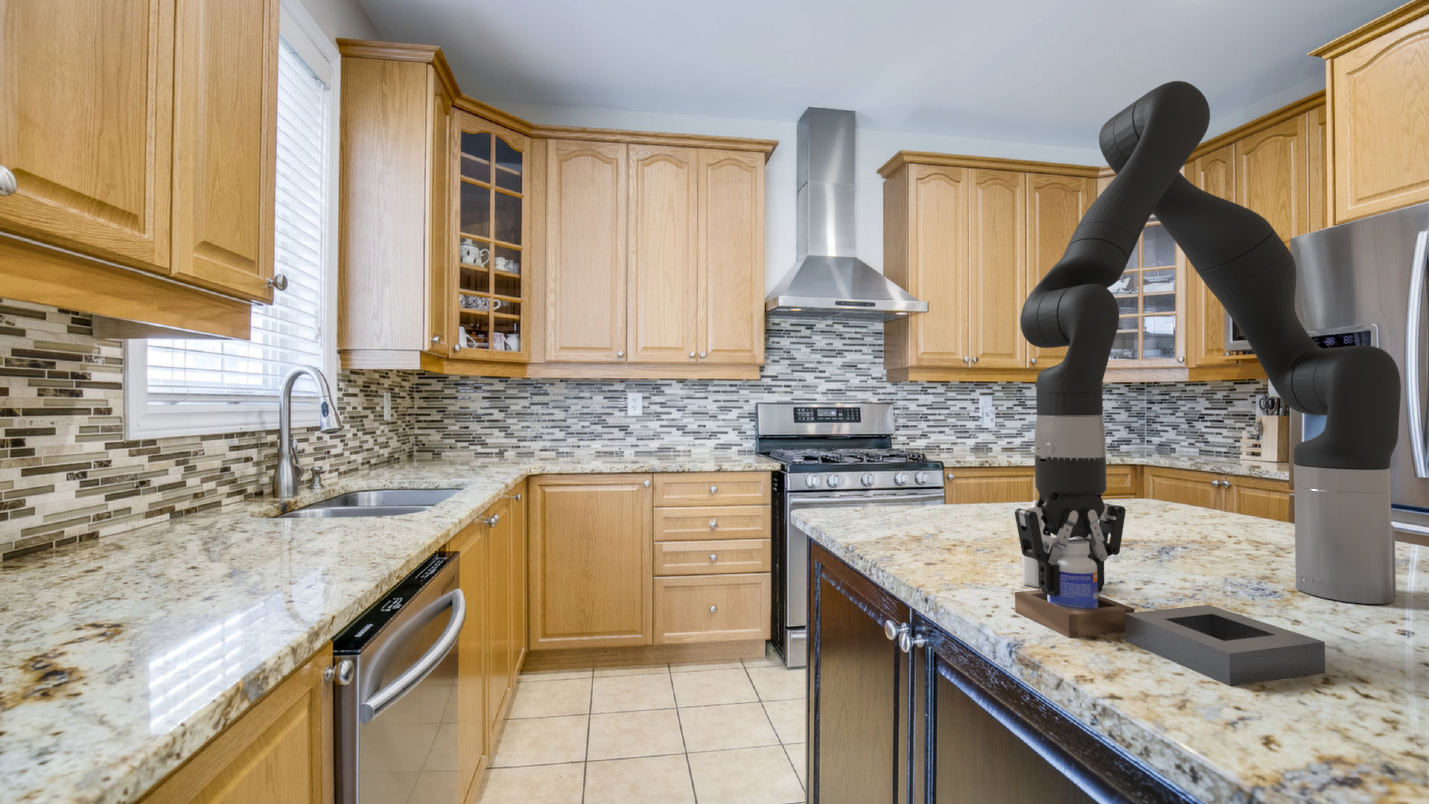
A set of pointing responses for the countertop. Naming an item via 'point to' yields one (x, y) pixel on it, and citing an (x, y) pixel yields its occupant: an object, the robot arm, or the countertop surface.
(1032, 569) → the eye dropper bottle
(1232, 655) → the steel block
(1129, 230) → the robot arm
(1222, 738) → the countertop surface
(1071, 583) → the pill bottle
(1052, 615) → the walnut stand
